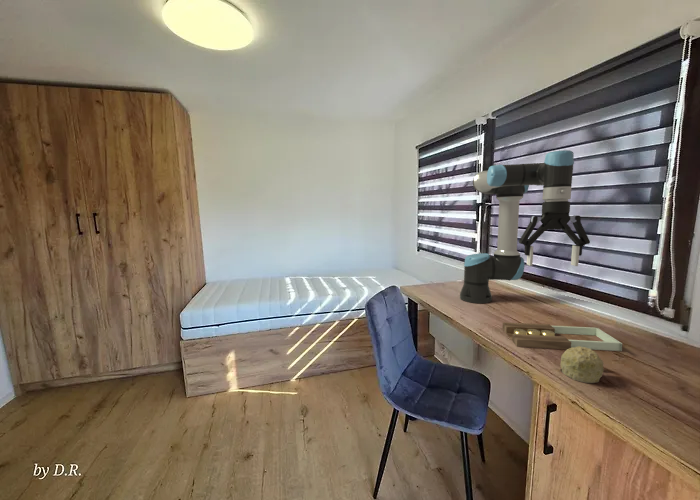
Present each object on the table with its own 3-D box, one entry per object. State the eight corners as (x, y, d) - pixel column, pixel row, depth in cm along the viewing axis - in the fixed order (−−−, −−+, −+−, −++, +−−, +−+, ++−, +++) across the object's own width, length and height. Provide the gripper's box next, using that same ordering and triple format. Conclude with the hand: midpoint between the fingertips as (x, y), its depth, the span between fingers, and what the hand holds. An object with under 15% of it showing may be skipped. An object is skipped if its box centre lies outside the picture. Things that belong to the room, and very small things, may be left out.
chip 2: (524, 335, 107) (525, 328, 106) (537, 335, 106) (537, 329, 106) (529, 339, 103) (529, 333, 102) (542, 340, 102) (542, 333, 102)
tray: (550, 334, 109) (550, 325, 108) (596, 337, 106) (597, 327, 106) (568, 350, 97) (569, 340, 96) (621, 353, 94) (622, 343, 93)
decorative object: (571, 393, 80) (598, 375, 74) (545, 359, 88) (568, 340, 82) (594, 389, 83) (622, 371, 77) (567, 356, 91) (590, 338, 85)
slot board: (502, 331, 113) (502, 322, 112) (548, 333, 110) (549, 324, 109) (516, 349, 98) (517, 339, 98) (570, 352, 95) (571, 342, 95)
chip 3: (538, 336, 105) (539, 329, 105) (551, 337, 105) (551, 330, 104) (543, 341, 101) (544, 334, 101) (556, 342, 101) (557, 335, 100)
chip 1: (512, 335, 107) (512, 328, 107) (524, 335, 106) (524, 329, 106) (516, 339, 103) (516, 333, 103) (528, 340, 102) (529, 333, 102)
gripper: (518, 201, 94) (515, 267, 97) (607, 199, 90) (601, 267, 93) (510, 202, 102) (507, 262, 104) (592, 200, 97) (586, 263, 100)
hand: (551, 265), depth 99 cm, fingers open, 13 cm apart
